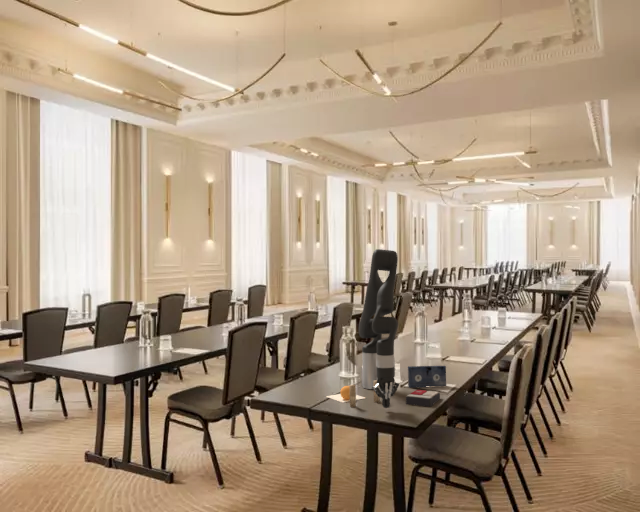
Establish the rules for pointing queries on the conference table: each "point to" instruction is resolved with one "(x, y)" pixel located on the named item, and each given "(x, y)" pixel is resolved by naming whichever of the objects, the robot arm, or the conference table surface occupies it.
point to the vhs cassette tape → (426, 376)
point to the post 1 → (352, 395)
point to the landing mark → (340, 399)
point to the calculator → (422, 398)
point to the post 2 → (376, 398)
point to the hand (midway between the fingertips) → (386, 407)
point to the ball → (345, 392)
